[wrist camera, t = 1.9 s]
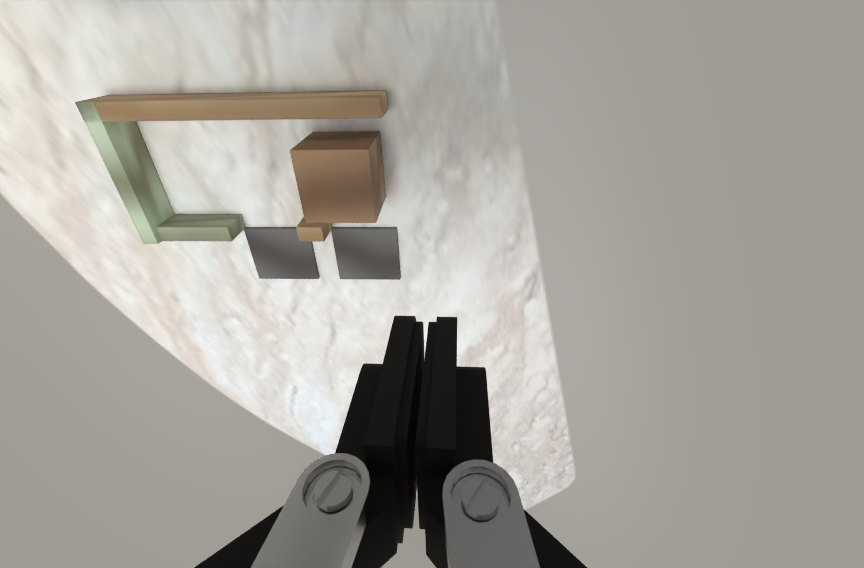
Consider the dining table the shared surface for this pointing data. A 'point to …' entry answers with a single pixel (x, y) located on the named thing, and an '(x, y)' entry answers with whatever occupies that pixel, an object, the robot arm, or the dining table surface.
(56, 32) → the dining table surface
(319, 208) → the block
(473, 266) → the dining table surface
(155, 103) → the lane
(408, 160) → the dining table surface
